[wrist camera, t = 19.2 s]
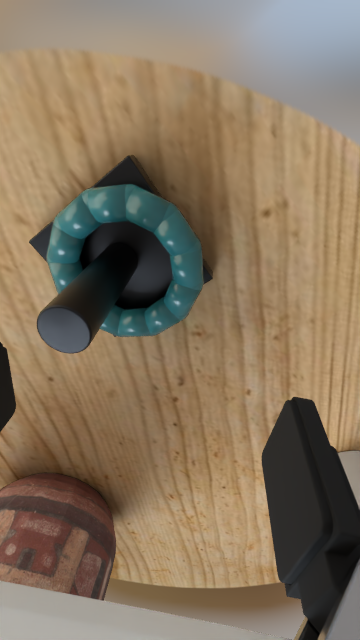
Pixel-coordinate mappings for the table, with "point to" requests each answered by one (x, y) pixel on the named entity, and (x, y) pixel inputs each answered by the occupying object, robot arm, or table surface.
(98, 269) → the peg stand
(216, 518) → the table surface
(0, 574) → the pottery
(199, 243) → the ring
